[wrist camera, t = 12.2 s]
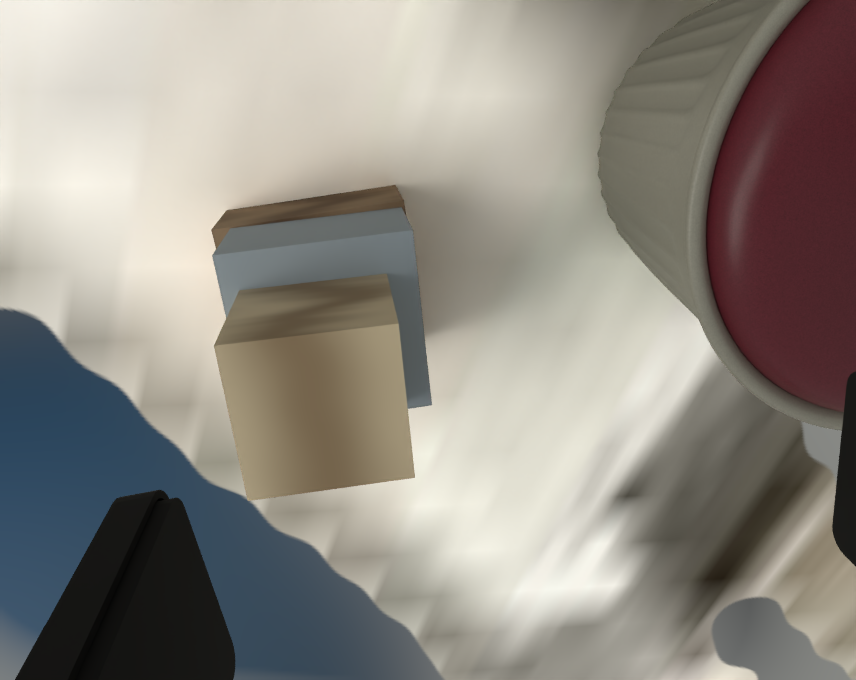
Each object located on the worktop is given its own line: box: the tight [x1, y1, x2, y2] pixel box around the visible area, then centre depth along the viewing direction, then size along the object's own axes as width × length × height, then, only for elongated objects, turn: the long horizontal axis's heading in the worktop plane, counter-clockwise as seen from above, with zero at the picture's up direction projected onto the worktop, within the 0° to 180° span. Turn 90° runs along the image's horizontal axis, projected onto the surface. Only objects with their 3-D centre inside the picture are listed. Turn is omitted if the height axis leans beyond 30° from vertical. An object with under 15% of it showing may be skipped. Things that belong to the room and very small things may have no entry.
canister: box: [598, 0, 856, 430], centre depth 28 cm, size 18×18×21 cm
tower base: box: [212, 185, 406, 249], centre depth 36 cm, size 9×9×5 cm
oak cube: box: [214, 274, 415, 501], centre depth 26 cm, size 6×6×6 cm
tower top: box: [212, 207, 432, 409], centre depth 31 cm, size 8×8×5 cm
